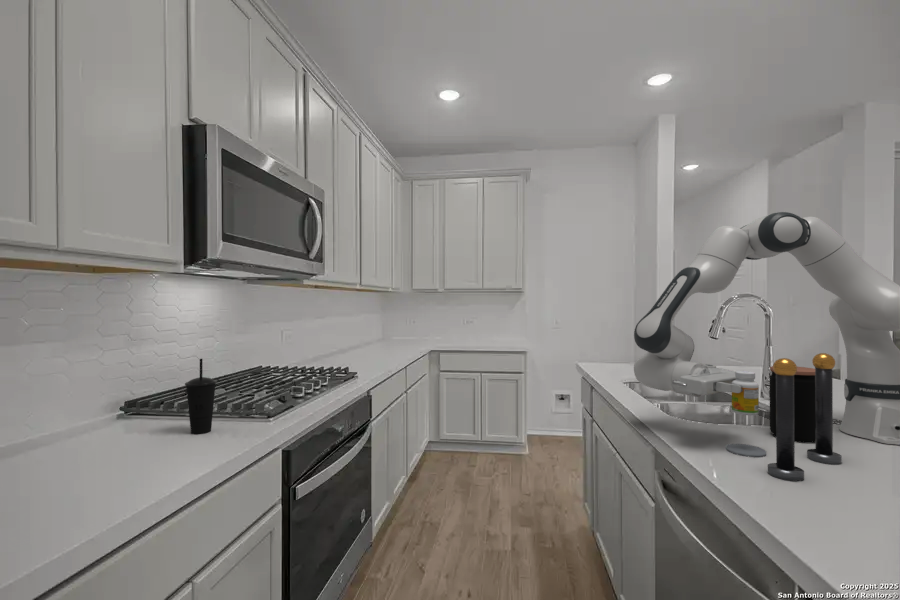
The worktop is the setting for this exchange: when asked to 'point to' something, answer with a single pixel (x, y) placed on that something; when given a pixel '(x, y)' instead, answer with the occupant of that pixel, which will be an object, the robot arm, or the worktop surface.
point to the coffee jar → (798, 404)
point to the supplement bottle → (746, 394)
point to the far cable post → (824, 412)
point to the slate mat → (746, 450)
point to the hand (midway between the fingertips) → (749, 387)
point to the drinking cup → (200, 403)
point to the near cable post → (785, 423)
